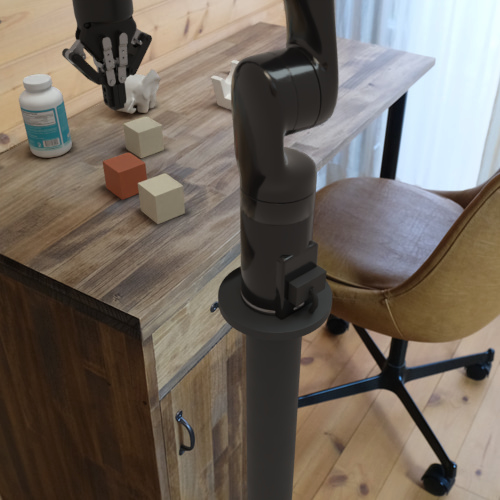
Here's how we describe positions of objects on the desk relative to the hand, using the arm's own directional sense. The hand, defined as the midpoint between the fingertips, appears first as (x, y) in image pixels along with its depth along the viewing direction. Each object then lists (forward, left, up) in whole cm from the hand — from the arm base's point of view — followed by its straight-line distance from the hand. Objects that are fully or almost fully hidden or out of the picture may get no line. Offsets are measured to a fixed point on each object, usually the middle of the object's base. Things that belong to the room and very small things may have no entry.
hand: (116, 107), depth 91 cm
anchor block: (+6, -3, -17) cm, 18 cm away
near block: (-4, -4, -17) cm, 18 cm away
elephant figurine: (+32, -21, -17) cm, 42 cm away
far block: (+16, -13, -17) cm, 27 cm away
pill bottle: (+27, 0, -17) cm, 32 cm away
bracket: (+17, -39, -17) cm, 46 cm away
